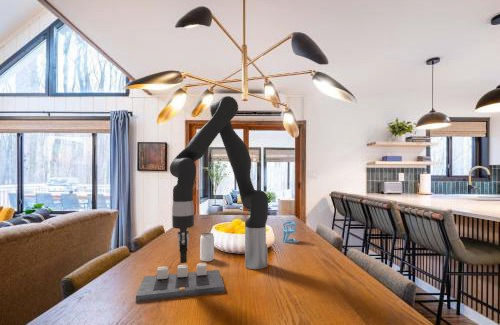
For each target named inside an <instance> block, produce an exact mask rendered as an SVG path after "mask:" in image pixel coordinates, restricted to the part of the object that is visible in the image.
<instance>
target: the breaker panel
mask: <svg viewBox="0 0 500 325" xmlns="http://www.w3.org/2000/svg"><path fill="white" fill-rule="evenodd" d="M221 293H222V294H223V293H225V285H224V281H223V278H222V275H221V272H220V270H219V269H210V270H207V275H199V276H197V271H192V272H191V271H190V272H189V271H188V275H187V277H177V273H168V278H167V279H157V275H146V276H145V275H144V276H143V278H142V281H141V283H140V285H139V287H138V290H137V292H136V294H135V303H142V302H143V303H144V302H150V301H153V302H154V301H159V300H167V299H168V300H169V299H178V298H186V297H198V296H205V294H206V295H213V294H221Z"/></svg>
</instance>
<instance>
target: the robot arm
mask: <svg viewBox="0 0 500 325" xmlns="http://www.w3.org/2000/svg"><path fill="white" fill-rule="evenodd" d="M209 111H210V115H211V118H210V119H209V120H208V121H207V122H206V123H205V124H204V125H203V126H202V127H201V128H200V129H199V130H198V131H197V132H195V134H194V135H193V137H192V138H191V139H190V140H189V142H188V144H186V146H185V148H184V149H183V150H181V151H180V152H179V153H178V154H177V155H176V156H175V157H174V159H173V160H172V161H171V163H170V164H169V172H170V174H171V176H172V177H175V178H177V181H176V182H177V183H176V185H174V186H173V188H172V209H171V212H172V213H171V217H172V218H171V219H172V220H171V222H172V228H173V229H177V230H178V229H179V231H177V239H178V241H177V243H178V247H179V254H180V255H179V258H180V264H186V263H188V262H187V260H188V256H187V254H188V253H187V252H188V246H189V238H190V231H189V230H188V228H189V229H190V228H192V227H194V225H195V209H194V208H195V207H194V190H193V189H194V186H195V181H196V176H197V167H196V163H195V162H196V161H198V160H201V158H202V157H203V156H204V155H205V153H206V152H207V150H208V149H209V147H210V146H211V145H212V143H213V141H214V140H215V139H216V138H217V136H218V135H219V136H220V138H221V141H222V144H223V147H224V149H225V151H226V156H227V159H228V161H229V163H230V166H231V167H230V168H231V169H232V173H233V175H234V178H235V181H236V184H237V187H238V192H239V196H240V200H241V204H242V206H243V208H245V209H247V210H248V211H250V214H249V218H246V219H245V220H244V267H245V268H246V269H249V270H262V269H265V268H268V244H267V237H266V236H267V232H266V231H267V228H266V226H267V221H268V218H269V217H268V215H269V214H268V213H269V198H268V195H267V194H266V191H263V190H257V189H255V188H254V185H253V182H252V178H251V171H252V158H251V156H250V155H251V154H250V152H249V149H248V147H247V145H246V143H245V142H244V141H243V140H242V137H240V136H239V135H238V134H237V133H236V130H234V128H233V125H232V122H231V121H232V119H233V118H235V117H236V116H237V114H238V111H239V104H238V102H237V100H236V99H235V98H234V97H233V96H228V95H226V96H222V97H220V98H218V99H216V100H214V101H212V103H211V104H210V108H209Z"/></svg>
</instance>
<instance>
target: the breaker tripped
mask: <svg viewBox="0 0 500 325" xmlns="http://www.w3.org/2000/svg"><path fill="white" fill-rule="evenodd" d="M188 267H189V266H188V264H179V265H177V273H176V274H177V277H187V275H188V272H189V270H188Z"/></svg>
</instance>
